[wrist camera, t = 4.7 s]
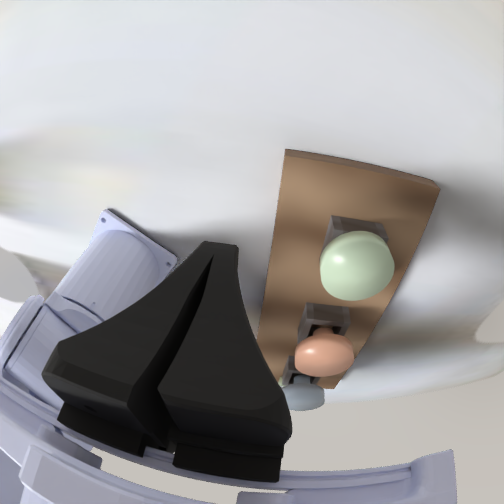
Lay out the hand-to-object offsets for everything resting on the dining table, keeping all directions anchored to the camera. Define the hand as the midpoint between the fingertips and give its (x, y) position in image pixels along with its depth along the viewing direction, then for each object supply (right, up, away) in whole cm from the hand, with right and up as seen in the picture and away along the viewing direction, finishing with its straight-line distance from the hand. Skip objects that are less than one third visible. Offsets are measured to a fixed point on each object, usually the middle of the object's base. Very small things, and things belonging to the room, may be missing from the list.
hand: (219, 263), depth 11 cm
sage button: (+8, +1, +8) cm, 12 cm away
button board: (+8, -5, +15) cm, 17 cm away
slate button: (+7, -13, +18) cm, 23 cm away
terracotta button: (+7, -7, +12) cm, 16 cm away
